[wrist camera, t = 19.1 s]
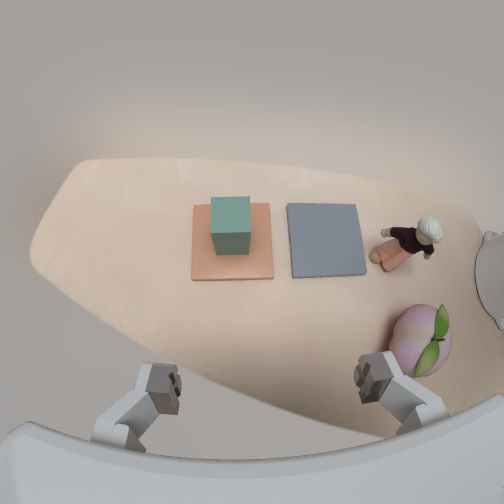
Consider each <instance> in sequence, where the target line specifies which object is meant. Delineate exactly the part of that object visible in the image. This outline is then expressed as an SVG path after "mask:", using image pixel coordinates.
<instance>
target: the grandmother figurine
mask: <svg viewBox="0 0 504 504" xmlns="http://www.w3.org/2000/svg"><path fill="white" fill-rule="evenodd" d="M417 226H418V227H417V229H415V228H413V227H412V228H403V227H392V228H388V229H382V230H381V236H382V237H387V236H388V237H394V238H396V239H392V240H389V241H386V242H385V243H383V244H382V245H380V246H376V247H375V248H374V249H373V250H372V251H371V252H370V254H369V258H370V260H371V261H372V262H373V263H375V264H378V263H380V262H381V261H382V265H383V267H384V268H385V269H386V270H387V271H391V270H393V269H395V268H396V267H397V266H398V265H400V264H401V263H402V262H403V261H404V260H406V259H407V258H408V257H410V256H411V255H413V254H415V253H417V252H419V251H421V250H423V251H424V254H423V256H424V258H425V259H429V258H430V256H431V254H433V252H434V248H433V245H432V243H438V242H440V240H441V238H442V227H441V225H440V223H439V221H438V219H436V218H433V217H432V216H424V217H422V218H421V220H419V222H418V224H417Z"/></svg>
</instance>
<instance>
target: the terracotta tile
mask: <svg viewBox="0 0 504 504" xmlns="http://www.w3.org/2000/svg"><path fill="white" fill-rule="evenodd" d="M250 216H251V239H250V248H249V255H216V252H215V248H214V244H213V241H212V237H211V204H208V205H194V212H193V235H192V274H191V279H192V280H193V281H211V280H255V279H273V278H274V273H273V256H272V240H271V225H270V210H269V203H250Z"/></svg>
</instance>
